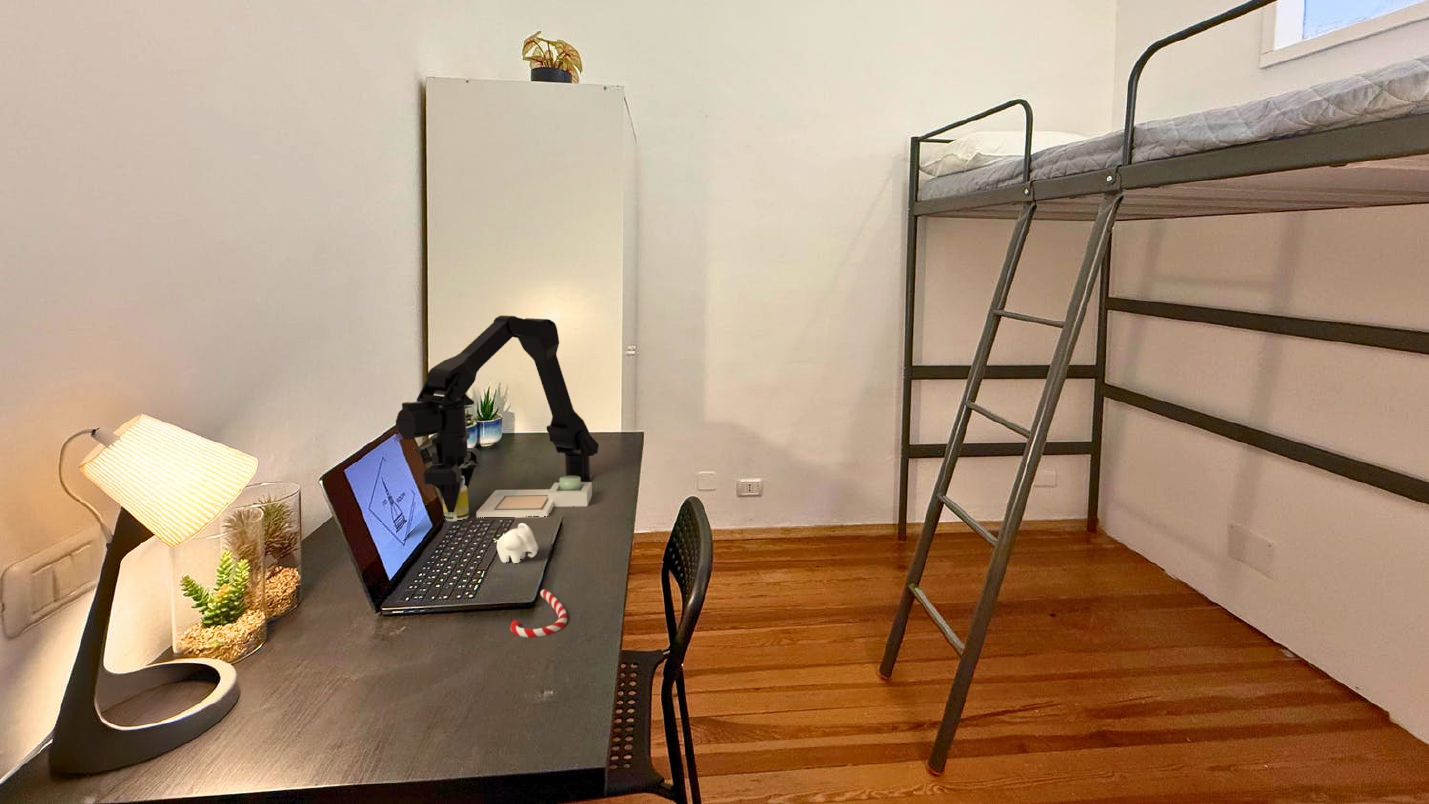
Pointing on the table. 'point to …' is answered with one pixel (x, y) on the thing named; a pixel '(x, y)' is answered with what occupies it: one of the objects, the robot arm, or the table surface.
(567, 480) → the button
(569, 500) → the button box
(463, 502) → the supplement bottle
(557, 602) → the candy cane
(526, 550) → the elephant figurine
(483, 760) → the table surface
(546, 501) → the colouring board
